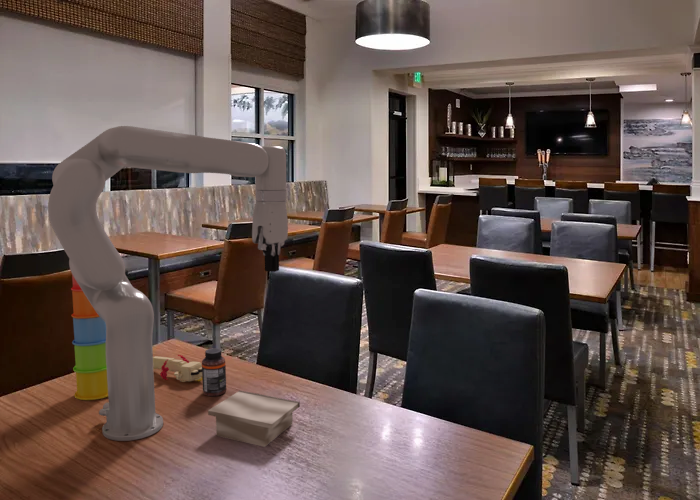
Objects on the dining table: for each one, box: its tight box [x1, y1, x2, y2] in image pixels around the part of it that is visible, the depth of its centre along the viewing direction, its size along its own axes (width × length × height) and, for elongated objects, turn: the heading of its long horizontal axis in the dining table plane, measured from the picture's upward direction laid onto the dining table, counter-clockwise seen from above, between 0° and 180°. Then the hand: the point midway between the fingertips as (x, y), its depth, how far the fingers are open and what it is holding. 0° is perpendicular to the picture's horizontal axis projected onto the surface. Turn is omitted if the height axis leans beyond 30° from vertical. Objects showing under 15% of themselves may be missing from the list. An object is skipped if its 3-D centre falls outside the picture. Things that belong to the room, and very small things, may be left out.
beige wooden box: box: [207, 390, 301, 448], centre depth 124 cm, size 12×16×6 cm
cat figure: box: [153, 354, 202, 383], centre depth 157 cm, size 10×9×25 cm
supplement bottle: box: [201, 347, 227, 397], centre depth 144 cm, size 6×6×11 cm
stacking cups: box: [70, 273, 108, 401], centre depth 141 cm, size 10×10×35 cm
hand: (271, 270), depth 140 cm, fingers closed
